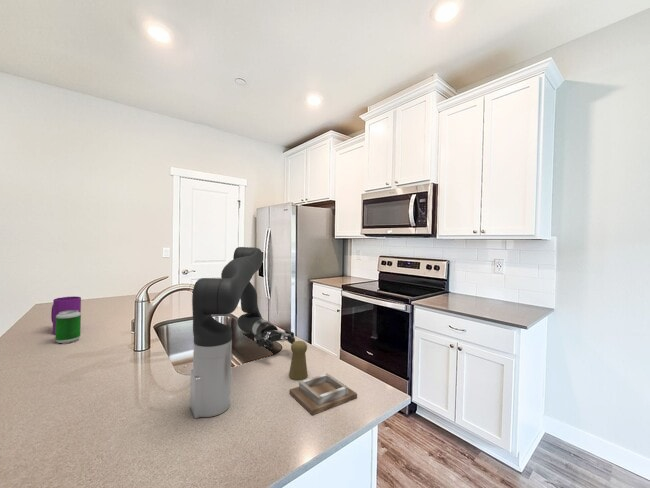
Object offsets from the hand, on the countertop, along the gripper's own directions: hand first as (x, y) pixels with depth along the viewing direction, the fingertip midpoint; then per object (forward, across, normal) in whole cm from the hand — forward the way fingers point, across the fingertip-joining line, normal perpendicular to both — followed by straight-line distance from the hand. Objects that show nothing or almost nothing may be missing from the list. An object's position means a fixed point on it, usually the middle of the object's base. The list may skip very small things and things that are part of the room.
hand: (283, 343), depth 101 cm
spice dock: (+25, 0, +7) cm, 26 cm away
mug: (-82, -69, +8) cm, 107 cm away
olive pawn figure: (+11, 0, +7) cm, 13 cm away
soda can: (-64, -65, +7) cm, 91 cm away
